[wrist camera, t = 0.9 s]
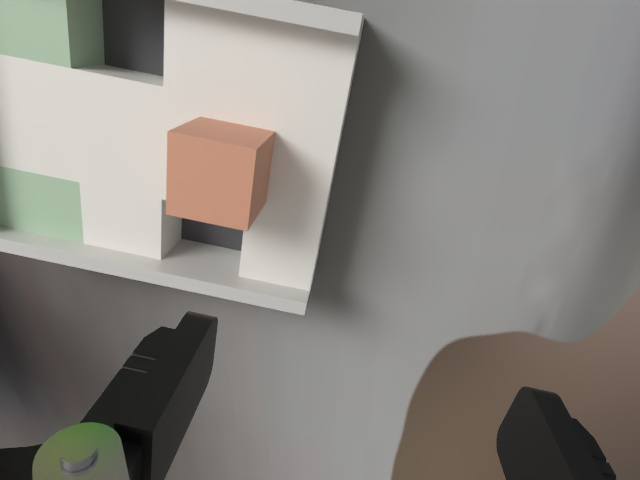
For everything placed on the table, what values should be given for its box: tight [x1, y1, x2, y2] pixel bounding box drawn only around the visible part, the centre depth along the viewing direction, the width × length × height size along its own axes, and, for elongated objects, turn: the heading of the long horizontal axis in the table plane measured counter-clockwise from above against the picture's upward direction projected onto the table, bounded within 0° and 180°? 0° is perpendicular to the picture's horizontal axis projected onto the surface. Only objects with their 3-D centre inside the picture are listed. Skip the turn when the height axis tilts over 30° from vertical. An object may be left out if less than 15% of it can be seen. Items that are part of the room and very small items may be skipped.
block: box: [166, 116, 275, 231], centre depth 24 cm, size 4×4×4 cm
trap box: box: [0, 0, 365, 315], centre depth 28 cm, size 23×18×6 cm
